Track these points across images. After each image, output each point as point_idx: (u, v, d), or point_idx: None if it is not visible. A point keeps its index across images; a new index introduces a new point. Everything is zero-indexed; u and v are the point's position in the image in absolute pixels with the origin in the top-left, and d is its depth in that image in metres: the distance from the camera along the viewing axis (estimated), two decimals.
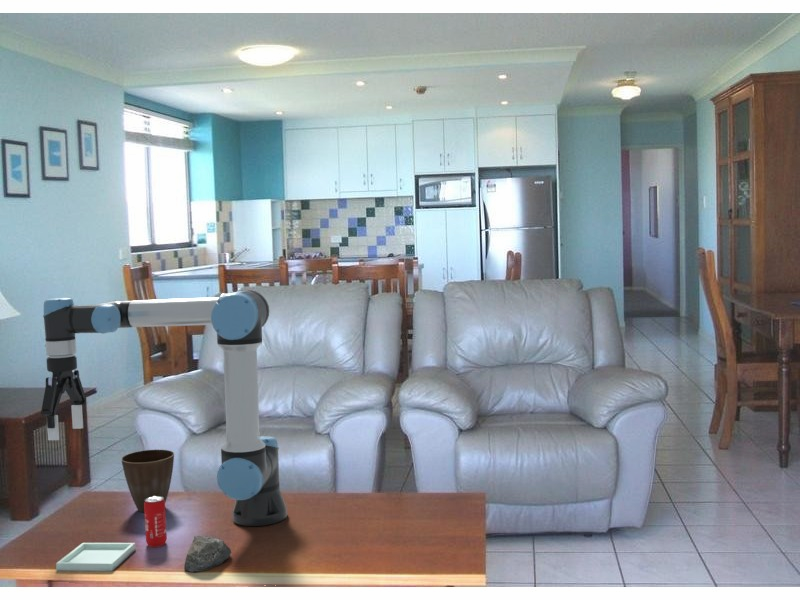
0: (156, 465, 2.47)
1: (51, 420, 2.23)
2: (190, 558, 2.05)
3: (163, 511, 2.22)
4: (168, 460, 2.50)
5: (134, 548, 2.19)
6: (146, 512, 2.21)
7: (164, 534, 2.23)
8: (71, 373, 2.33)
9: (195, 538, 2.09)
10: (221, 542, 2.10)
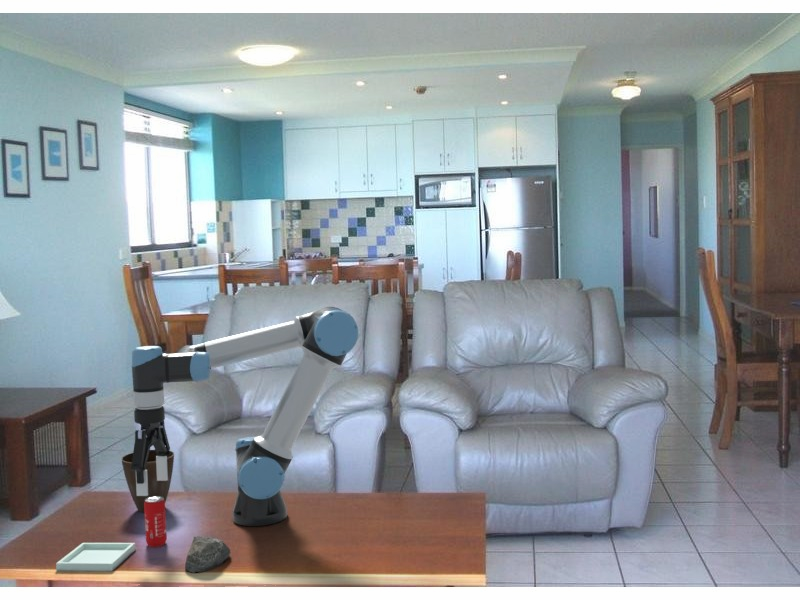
0: None
1: (141, 475, 2.14)
2: (191, 559, 2.05)
3: (163, 511, 2.22)
4: (168, 460, 2.50)
5: (134, 548, 2.19)
6: (146, 512, 2.21)
7: (164, 534, 2.23)
8: (158, 424, 2.24)
9: (195, 538, 2.09)
10: (221, 542, 2.10)
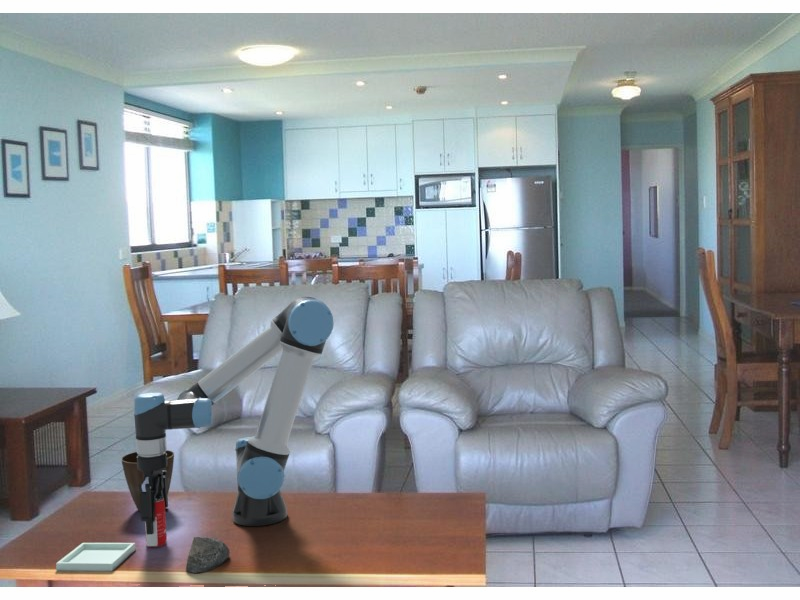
0: None
1: (150, 526, 2.19)
2: (192, 559, 2.04)
3: (163, 511, 2.22)
4: (168, 460, 2.50)
5: (134, 548, 2.19)
6: None
7: (164, 534, 2.23)
8: (161, 470, 2.25)
9: (195, 539, 2.08)
10: (221, 542, 2.10)
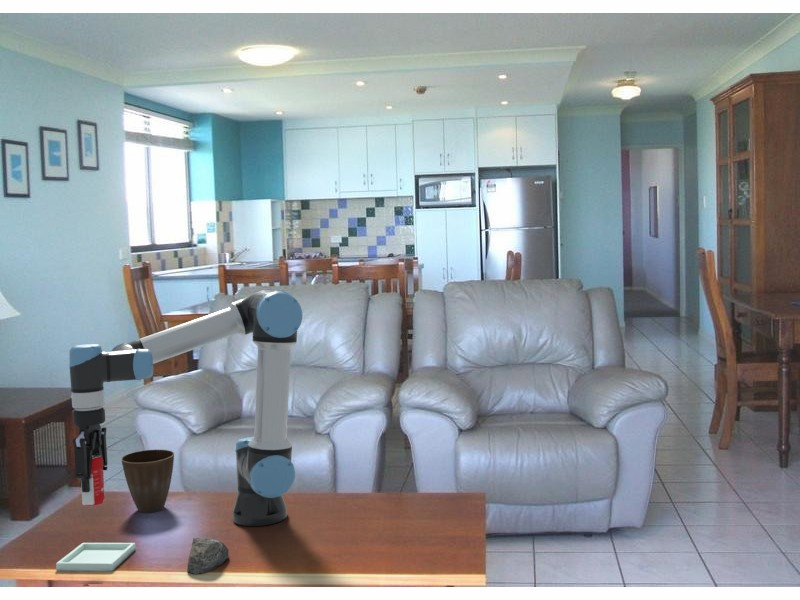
0: (156, 465, 2.47)
1: (86, 483, 2.08)
2: (193, 560, 2.04)
3: (100, 468, 2.11)
4: (168, 460, 2.50)
5: (134, 548, 2.19)
6: None
7: (102, 493, 2.12)
8: (99, 425, 2.14)
9: (194, 540, 2.08)
10: (220, 542, 2.10)
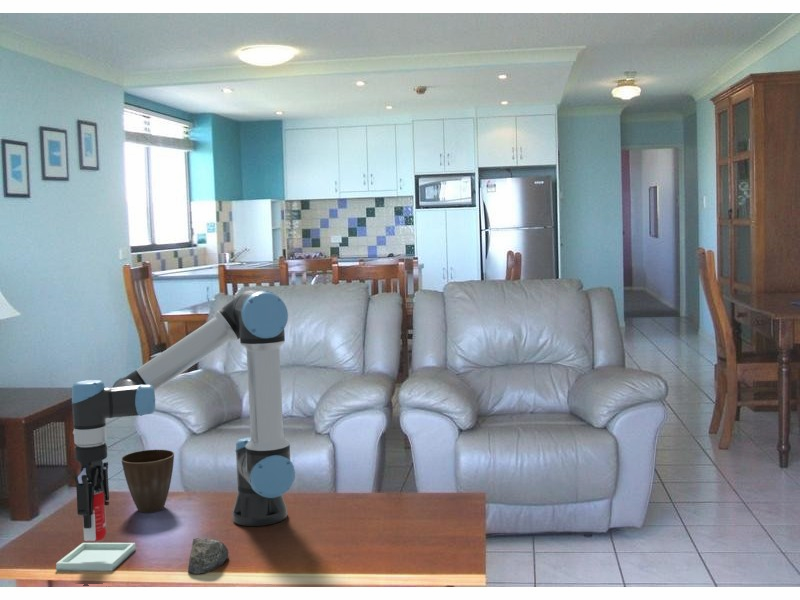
0: (156, 465, 2.47)
1: (88, 520, 2.09)
2: (194, 561, 2.04)
3: (102, 504, 2.12)
4: (168, 460, 2.50)
5: (134, 548, 2.19)
6: None
7: (103, 528, 2.13)
8: (101, 461, 2.15)
9: (195, 540, 2.07)
10: (220, 542, 2.10)
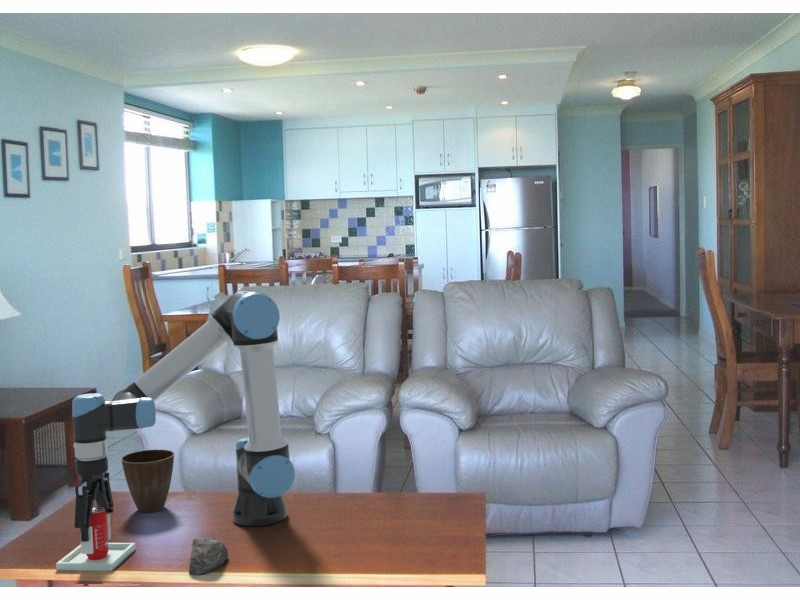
0: (156, 465, 2.47)
1: (85, 533, 2.07)
2: (194, 561, 2.03)
3: (104, 523, 2.13)
4: (168, 460, 2.50)
5: (134, 548, 2.19)
6: None
7: (105, 547, 2.13)
8: (101, 474, 2.15)
9: (195, 541, 2.07)
10: (220, 542, 2.10)
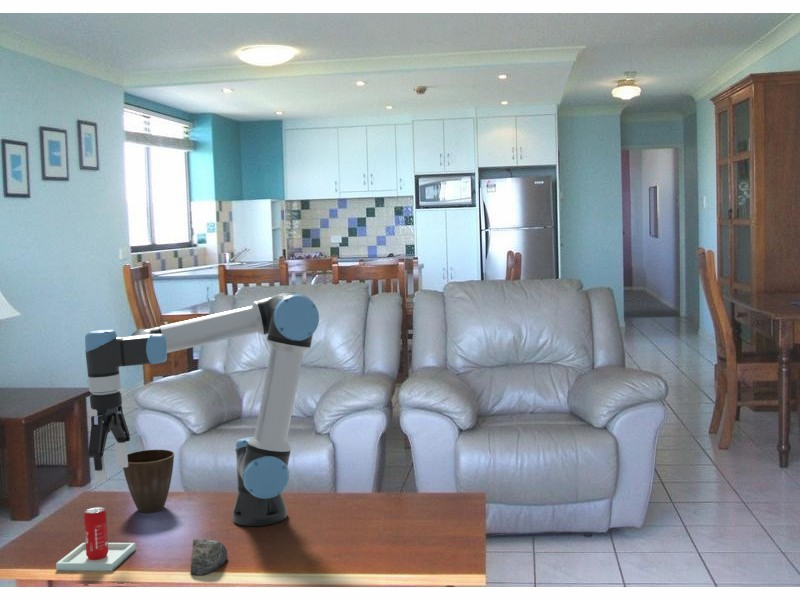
0: (156, 465, 2.47)
1: (99, 462, 2.09)
2: (196, 562, 2.03)
3: (104, 523, 2.13)
4: (168, 460, 2.50)
5: (134, 548, 2.19)
6: (86, 524, 2.11)
7: (105, 547, 2.13)
8: (115, 409, 2.19)
9: (195, 541, 2.07)
10: (219, 542, 2.10)
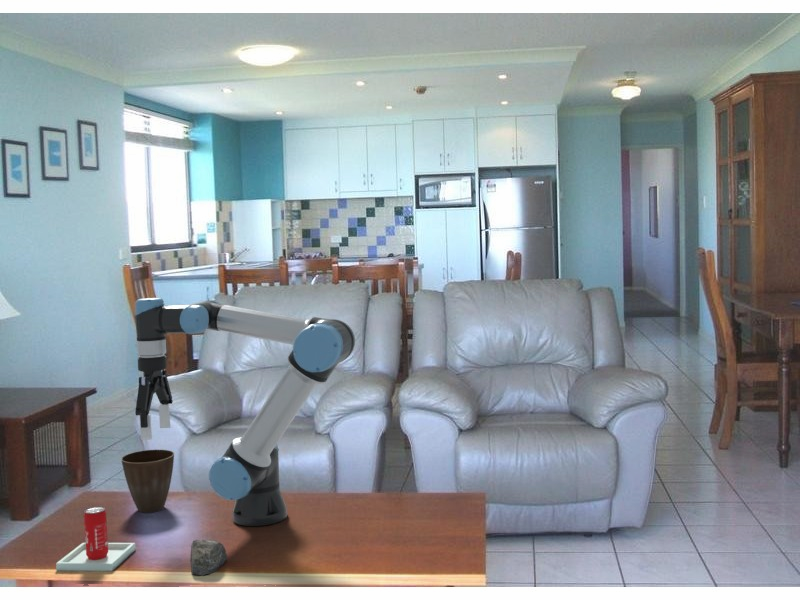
0: (156, 465, 2.47)
1: (144, 419, 2.24)
2: (197, 562, 2.03)
3: (104, 523, 2.13)
4: (168, 460, 2.50)
5: (134, 548, 2.19)
6: (86, 524, 2.11)
7: (105, 547, 2.13)
8: (160, 373, 2.35)
9: (195, 542, 2.06)
10: (219, 543, 2.10)
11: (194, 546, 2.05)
